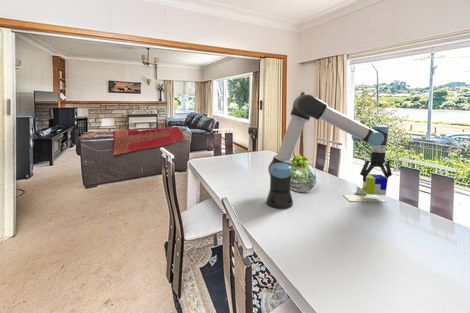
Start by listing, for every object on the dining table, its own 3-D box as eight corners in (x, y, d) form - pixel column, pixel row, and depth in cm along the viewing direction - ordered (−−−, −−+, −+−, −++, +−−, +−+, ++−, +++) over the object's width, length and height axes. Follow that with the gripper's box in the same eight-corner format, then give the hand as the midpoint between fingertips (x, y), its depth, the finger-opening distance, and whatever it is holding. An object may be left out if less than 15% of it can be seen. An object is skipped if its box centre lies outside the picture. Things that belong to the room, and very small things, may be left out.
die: (359, 194, 164) (360, 188, 164) (356, 192, 169) (357, 185, 168) (366, 194, 164) (367, 188, 163) (363, 192, 169) (364, 185, 168)
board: (349, 201, 152) (349, 201, 152) (342, 195, 163) (342, 194, 163) (386, 202, 152) (386, 201, 152) (376, 195, 163) (376, 195, 163)
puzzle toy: (385, 195, 151) (387, 179, 149) (367, 194, 153) (369, 178, 151) (379, 189, 160) (381, 174, 158) (362, 188, 162) (364, 173, 160)
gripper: (362, 152, 148) (358, 188, 152) (401, 152, 148) (397, 188, 152) (356, 150, 155) (352, 184, 160) (394, 150, 155) (389, 184, 159)
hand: (374, 186), depth 156 cm, fingers closed on puzzle toy, 11 cm apart
